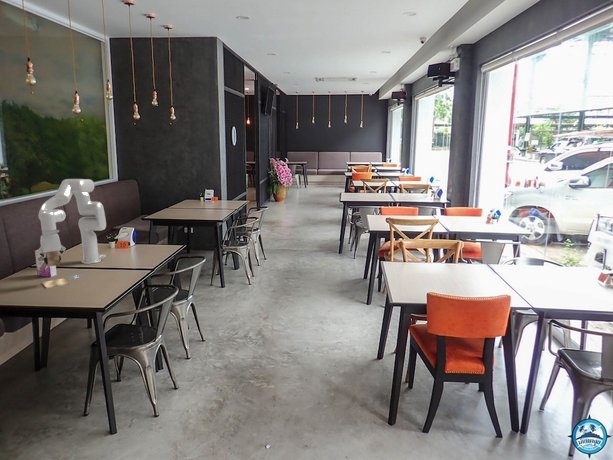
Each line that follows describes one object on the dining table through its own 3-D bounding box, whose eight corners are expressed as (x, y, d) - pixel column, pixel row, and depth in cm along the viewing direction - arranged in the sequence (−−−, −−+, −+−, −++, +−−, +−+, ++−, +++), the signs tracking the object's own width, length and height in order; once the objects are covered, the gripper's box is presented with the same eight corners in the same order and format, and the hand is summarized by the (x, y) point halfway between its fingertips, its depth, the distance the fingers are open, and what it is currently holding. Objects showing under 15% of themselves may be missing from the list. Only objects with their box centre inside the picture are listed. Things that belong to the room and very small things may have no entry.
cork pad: (63, 279, 291) (63, 278, 291) (68, 284, 282) (68, 282, 281) (42, 283, 283) (41, 282, 283) (46, 288, 274) (46, 287, 274)
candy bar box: (37, 276, 299) (34, 250, 295) (43, 273, 303) (40, 248, 300) (50, 277, 295) (47, 251, 292) (57, 275, 300) (54, 250, 296)
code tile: (81, 274, 302) (81, 273, 302) (85, 277, 295) (85, 277, 295) (66, 276, 296) (66, 276, 296) (69, 280, 290) (69, 279, 290)
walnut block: (57, 263, 284) (56, 249, 283) (59, 265, 280) (58, 251, 278) (46, 264, 280) (44, 251, 279) (48, 266, 276) (47, 253, 274)
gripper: (64, 230, 284) (67, 259, 288) (31, 233, 274) (35, 264, 277) (67, 231, 279) (70, 261, 282) (33, 235, 268) (37, 266, 272)
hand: (52, 262), depth 280 cm, fingers closed on walnut block, 6 cm apart
